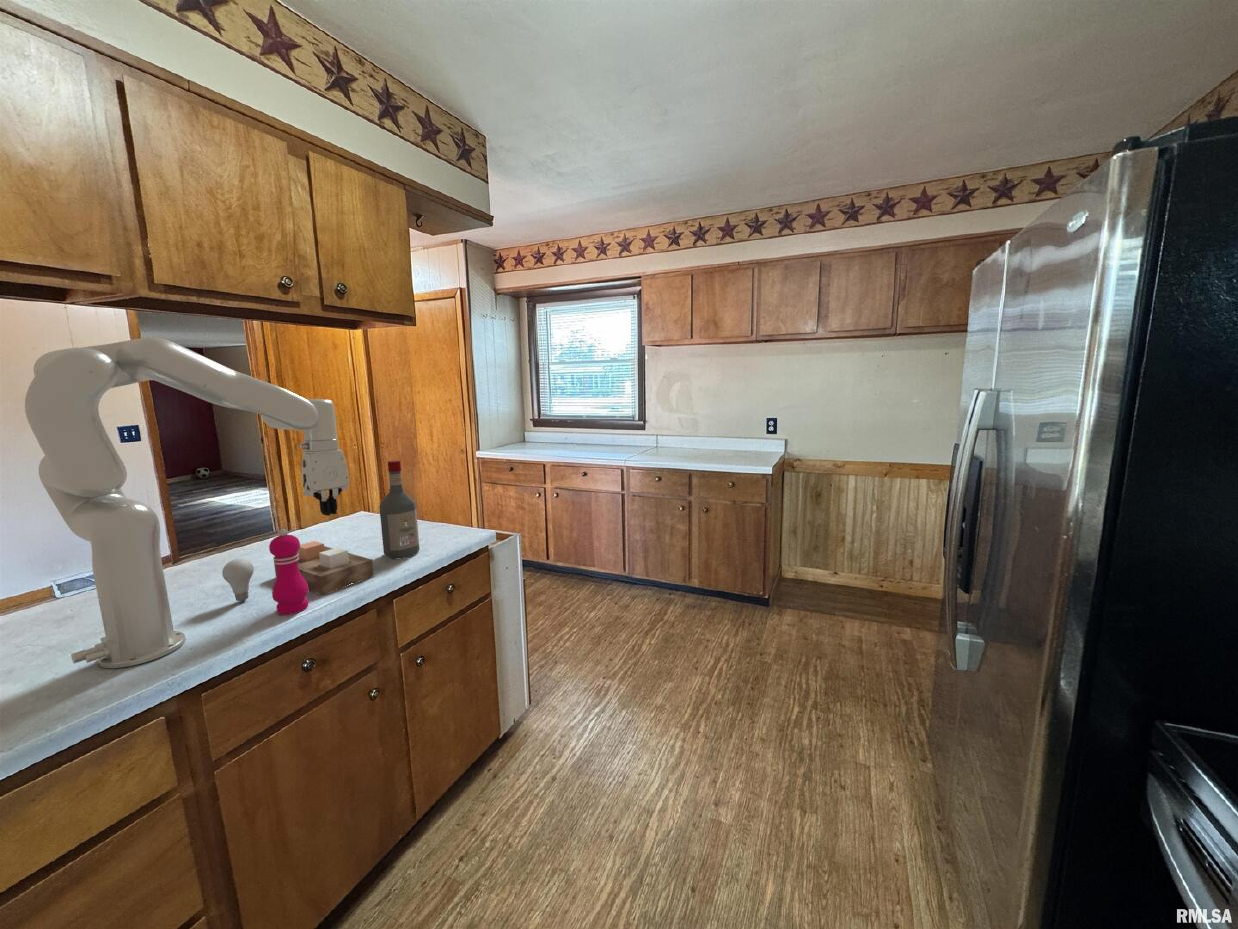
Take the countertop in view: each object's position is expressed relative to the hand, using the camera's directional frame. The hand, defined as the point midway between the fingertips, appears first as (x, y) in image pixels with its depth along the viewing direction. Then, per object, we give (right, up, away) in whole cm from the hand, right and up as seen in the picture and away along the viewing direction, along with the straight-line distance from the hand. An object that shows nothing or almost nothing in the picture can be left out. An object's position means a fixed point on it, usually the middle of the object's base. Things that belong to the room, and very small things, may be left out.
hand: (329, 513), depth 130 cm
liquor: (+9, -16, +25) cm, 30 cm away
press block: (-5, -18, +6) cm, 20 cm away
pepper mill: (-1, -22, -14) cm, 26 cm away
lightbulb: (-16, -21, -9) cm, 28 cm away
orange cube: (-10, -15, +9) cm, 20 cm away
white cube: (0, -15, +2) cm, 16 cm away
